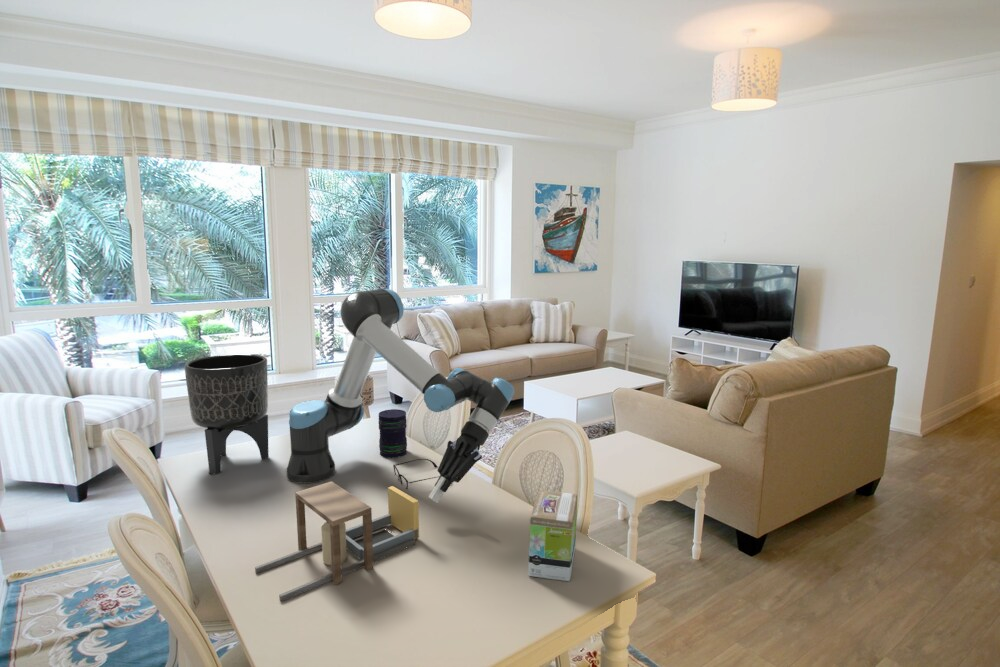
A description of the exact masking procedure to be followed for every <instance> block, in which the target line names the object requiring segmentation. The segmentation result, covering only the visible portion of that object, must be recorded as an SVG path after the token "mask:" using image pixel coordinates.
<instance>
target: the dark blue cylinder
mask: <svg viewBox="0 0 1000 667" xmlns="http://www.w3.org/2000/svg"><path fill="white" fill-rule="evenodd" d="M407 427H408V426H407V412H406V411H405V410H403V409H397V408H393V409H385V410H382V411H380V412H378V430H379V438H378V439H379V440H378V443H379V444H378V448H379V456H380V455H381V456H380V457H381V458H384V457H385V458H386V459H397V458H402V457H404V456H406V455H407V453H408V450H407V449H408V448H407V447H408V440H407V439H408V438H407V432H406V429H407Z"/></svg>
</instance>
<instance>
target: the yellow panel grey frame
mask: <svg viewBox="0 0 1000 667" xmlns="http://www.w3.org/2000/svg"><path fill="white" fill-rule="evenodd" d="M387 499H388V501H387V503H388V504H387V505H388V513H387V514H385V515H382V516H379V517H376V518H374V519H372V532H375V531H377V530H380V529H383V528H385V527H387V526H389V525H391V526H393V527H394V528H396V529H397V530H400V531H401V533H398V534H396V536H393V537H391V538H388V539H386V540H383V541H381V542H378V543H376V544H373V556H374V555H376V554H378V553H381V552H383V551H386V550H388V549H390V548H393V547H395V546H398V545H400V544H402V543H405V542H407V541H410V540H412V539H414V540H415V541H416V540H417V539H419V538H420V523H419V522H420V517H419V514H420V513H419V507H420V506H419V500H418V499H416V498H414V497H413V496H411V495H409V494H407V493H406V492H404V491H402V490H400V489H399V488H397V487H395V486H394V485H392V486H389V487H387ZM362 536H363V523H360V524H358V525H354V526H352V527H349V528H347V529H346V550H348V551H349V552H350V553H351V554H352V555H354V556H355V557H356V558H357V559H359V561H362V560H364V548H362V547H361V546H360V545H359V544H357V543H356V542H355V541H354V540H355V539H357V538H359V537H362Z"/></svg>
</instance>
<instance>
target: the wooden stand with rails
mask: <svg viewBox="0 0 1000 667" xmlns="http://www.w3.org/2000/svg"><path fill="white" fill-rule="evenodd" d="M294 494H295V509H296V510H295V512H296V530H297V548H298V551H294V552H293V553H290V554H287V555H286V554H285V555H284V556H281V557H278V558H276V559H273V560H270V561H268V562H265V563H262V564H261V565H257V566H255V568H254V570H255V573H256V574H259V573H261V572H264V571H267V570H269V569H271V568H274V567H277V566H280V565H283V564H285V563H288V562H291V561H292V560H295V559H299V558H301V557H303V556H307V555H308V554H312V553H314V552H317V551H319V550H322V541H321V542H319V543H317V544H313V545H311V546H308V544H307V543H308V542H307V527H306V526H307V525H306V524H307V523H306V522H307V521H306V508H305V506H306V507H307V508H308V509H310V510H312V512H314V513H315V514H317V515H318V516H319V517H321V518H322V519H323V520H324V521H325V522H328V523H329V524H330V538H331V560H332V565H331V573H328V574H326V575H323V576H321V577H318V578H317V579H314V580H311V581H309V582H306V583H304V584H301V585H299V586H297V587H295V588H294V587H293V588H292V589H290V590H287V591H285V592H283V593H280V594H279V601H280V602H284V601H286V600H288V599H290V598H293V597H296V596H297V595H300V594H302V593H304V592H305V593H306V592H307V591H309V590H312V589H314V588H317V587H319V586H321V585H323V584H326V583H328V582H331V581H332V583H333V584H334V585H335V586H337V585H339V584H341V583H343V581H342V580H343V578H342V577H343V576H344V575H347V574H349V573H351V572H354V571H357V570H359V569H361V568H363V567H364V568H363V569H364V570H366V571H367V572H369V571H371V570H374V563H375V562H378V561H380V560H382V559H384V557H385V558H387V557H389V556H391V554H392V555H394V554H396V552H397V553H399V552H401V551H404V550H405V549H404V548H406V547H408V548H410V547H409V546H411V545H413V546H415V545H416V539H415V540H414V539H412V540H410V541H407V542H405V543H402V544H400V545H398V546H395V547H393V548H390V549H388V550H386V551H383V552H381V553H378V554H376V555H374V556H373V541H372V533H373V531H372V520H373V516H372V512H373V511H372V507H371V506H370V505H368V504H366V503H365V502H363V501H362V500H360V499H359V498H358V497H356V496H355V495H353V494H351V493H350V492H348V491H347V490H346V489H344V488H342V487H341V486H340V485H338V484H336V483H335V482H333V481H329V482H326V483H321V484H318V485H314V486H312V487H309V488H304V489H302V490H299V491H296V492H295V493H294ZM361 517H362V524H363V535H362V537H363V543H364V560H363V559H361V560H359V561H357V562H354V563H352V564H350V565H348V566H345V567H343V568H342V563H341V551H340V527H339V524H341V523H347V522H349V521H352V520H355V519H358V518H361ZM414 544H415V545H414ZM411 547H412V546H411ZM403 549H404V550H403ZM406 549H407V548H406ZM400 550H401V551H400ZM398 551H399V552H398ZM393 553H394V554H393Z"/></svg>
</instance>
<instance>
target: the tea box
mask: <svg viewBox="0 0 1000 667" xmlns="http://www.w3.org/2000/svg"><path fill="white" fill-rule="evenodd" d="M577 514H578V493H569V492H561V491H560V492H559V491H548V490H538V492H537V495H536V499H535V502H534V505H533V508H532V511H531V514H530V517H529V520H530V522H529V523H530V524H529V546H528V548H529V549H528V569H527V570H528V573H527V574H528V576H529V577H534V578H541V579H548V580H556V581H565V582H570V580H571V576H572V571H573V563H574V556H575V550H576V543H577V542H576V540H577V539H576V537H577V516H578V515H577Z"/></svg>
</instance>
